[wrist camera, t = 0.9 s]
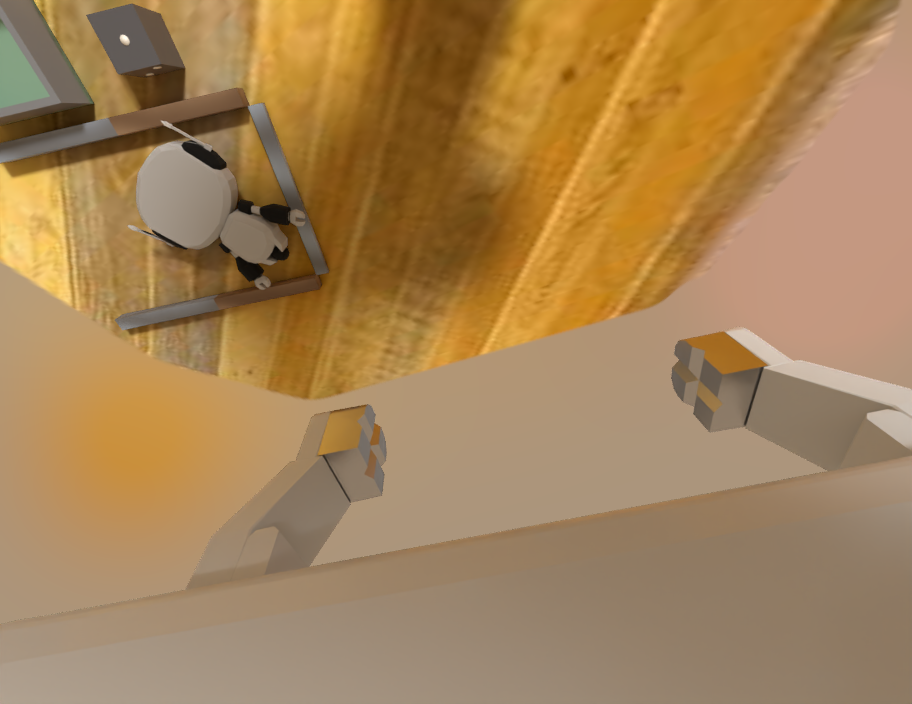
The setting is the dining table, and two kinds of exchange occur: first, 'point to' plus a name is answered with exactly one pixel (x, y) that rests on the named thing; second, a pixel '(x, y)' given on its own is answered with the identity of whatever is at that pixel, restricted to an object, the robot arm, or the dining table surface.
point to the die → (136, 41)
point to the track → (174, 115)
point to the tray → (33, 66)
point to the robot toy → (209, 207)
